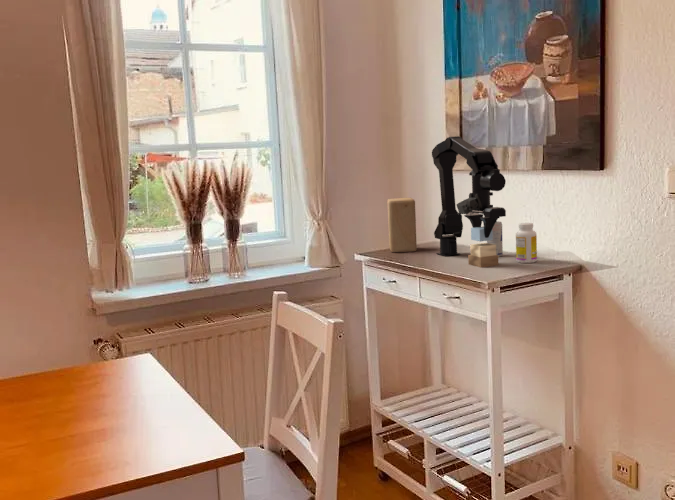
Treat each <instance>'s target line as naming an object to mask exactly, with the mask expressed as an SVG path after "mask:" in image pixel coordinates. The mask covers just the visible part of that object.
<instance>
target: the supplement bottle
mask: <svg viewBox="0 0 675 500" xmlns="http://www.w3.org/2000/svg"><path fill="white" fill-rule="evenodd" d="M533 228H534V222H519V223H518V229H519V230H518V231H516V233H515V254H516V255H515V256H516V258H515V260H516V262H517V263H520V264H530V263H536V262H537V260H538V254H537V253H538V249H537V248H538V247H537V244H538V243H537V237H538V236H537V231H535V230H534V229H533Z"/></svg>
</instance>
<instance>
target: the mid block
mask: <svg viewBox="0 0 675 500" xmlns="http://www.w3.org/2000/svg"><path fill="white" fill-rule="evenodd" d="M469 248H470V255H473V256H477V257H487V256H495V255H496V245H494V244H490V243H487V242H479V243H474V244H473V243H472V244H470V246H469Z"/></svg>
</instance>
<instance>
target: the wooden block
mask: <svg viewBox="0 0 675 500" xmlns="http://www.w3.org/2000/svg"><path fill="white" fill-rule="evenodd" d="M386 202H387V223H388V224H387V225H388V226H387V227H388V228H387V229H388V247H389V250H390V252H391V253H412V252H416V251H417V250H418V248H417V247H418V245H417V222H416V221H417V219H416V201H415V199H414V198H412V197H398V198H397V197H396V198H395V197H394V198H388V199H387V201H386Z"/></svg>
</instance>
